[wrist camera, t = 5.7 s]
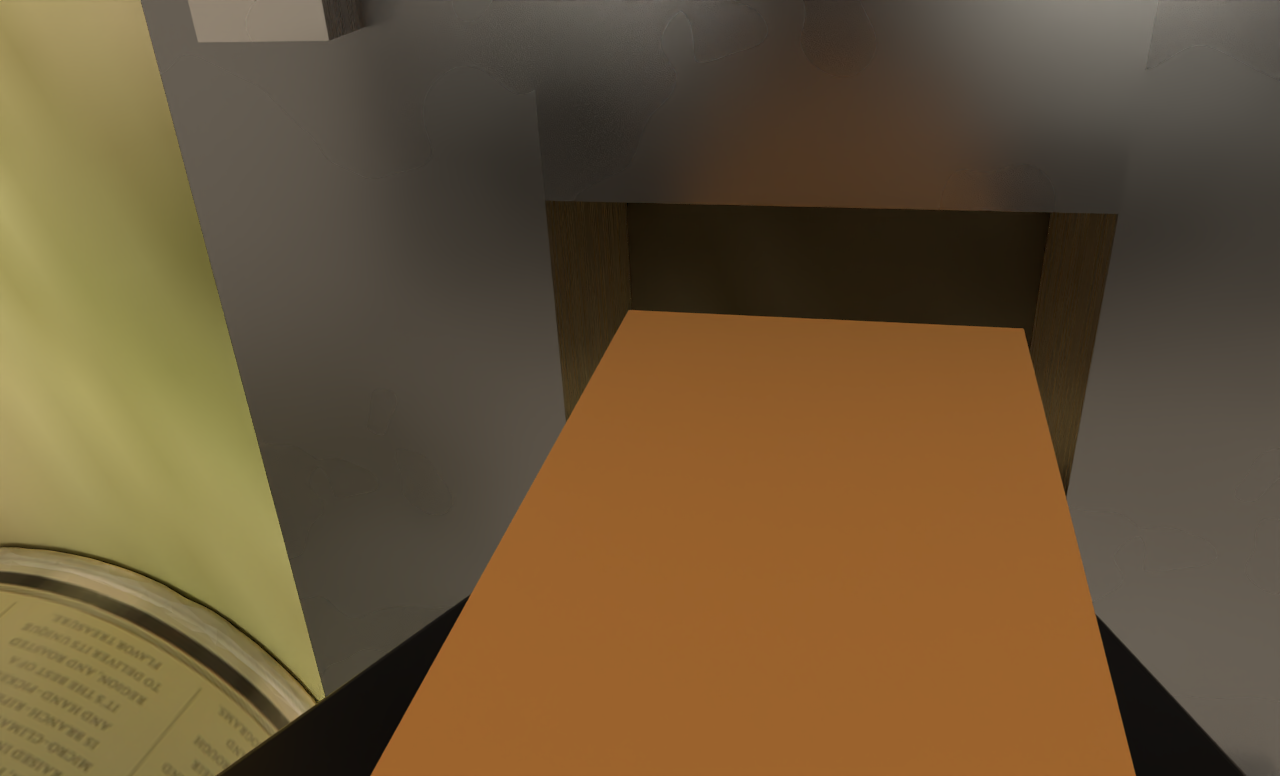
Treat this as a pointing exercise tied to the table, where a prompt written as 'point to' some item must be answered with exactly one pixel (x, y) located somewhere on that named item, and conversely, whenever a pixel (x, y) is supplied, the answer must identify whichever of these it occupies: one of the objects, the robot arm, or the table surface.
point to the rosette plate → (738, 175)
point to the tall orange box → (783, 571)
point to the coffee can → (126, 675)
